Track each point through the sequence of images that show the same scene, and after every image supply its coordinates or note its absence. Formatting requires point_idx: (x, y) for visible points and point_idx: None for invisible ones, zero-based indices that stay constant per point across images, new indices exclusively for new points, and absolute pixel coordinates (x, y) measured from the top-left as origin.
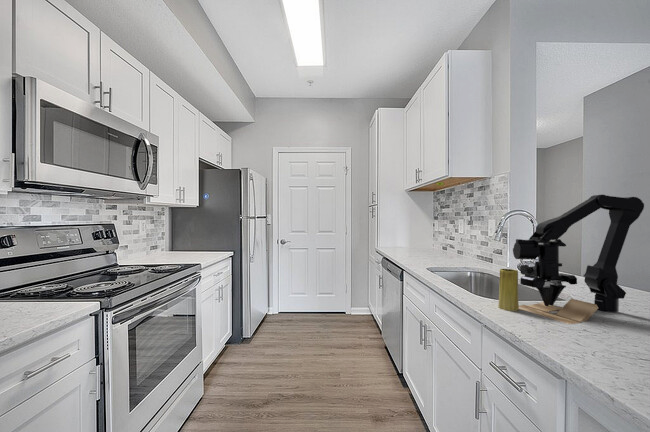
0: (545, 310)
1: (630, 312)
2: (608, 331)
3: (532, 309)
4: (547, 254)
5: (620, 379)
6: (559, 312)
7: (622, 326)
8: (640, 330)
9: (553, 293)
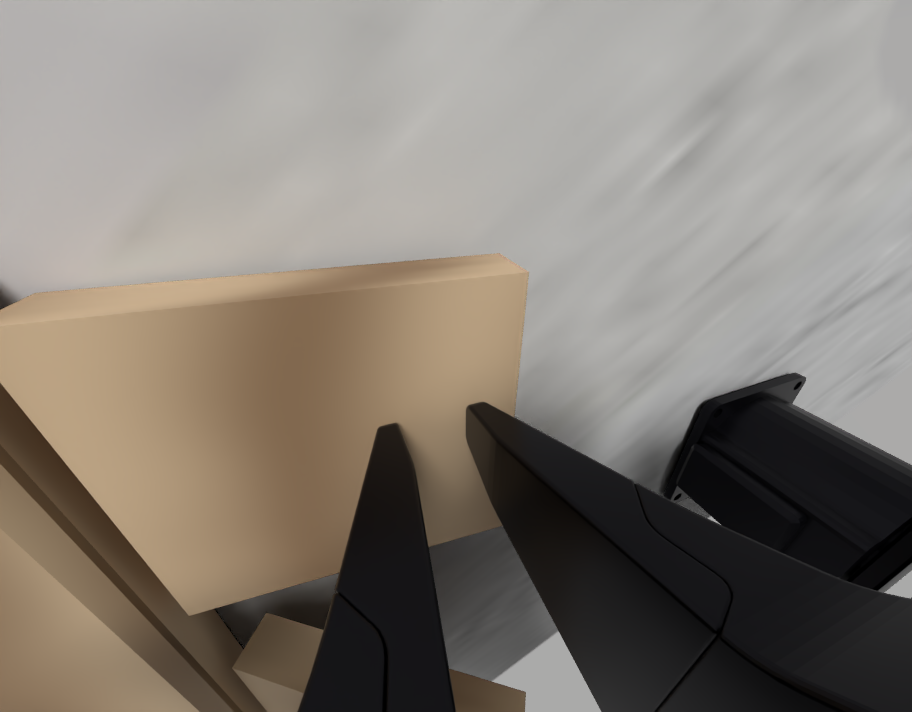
0: (216, 576)
1: (839, 396)
2: None
3: None
4: None
5: None
6: (274, 687)
7: (545, 607)
8: (551, 631)
9: (596, 648)
